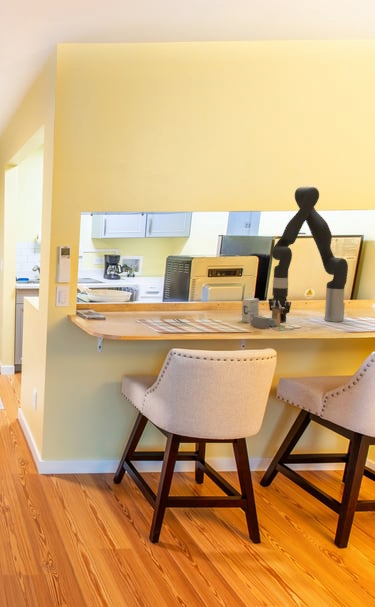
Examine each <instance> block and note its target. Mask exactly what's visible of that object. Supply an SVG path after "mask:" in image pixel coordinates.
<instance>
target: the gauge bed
mask: <svg viewBox="0 0 375 607" xmlns="http://www.w3.org/2000/svg"><path fill="white" fill-rule="evenodd" d="M269 318H270V317H265V316H261V315H259V316H253V320H251V323H250V326H252V327H253V328H258V329H262V330H266V329H267V330H268V329H270V326H269ZM284 326H285V327H282V326H279V327H271V328H272V330H274V331H278V332H280V331H287V330H295V329H296V330H297V329H303V326H301V325H297V324H291V325H284Z"/></svg>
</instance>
